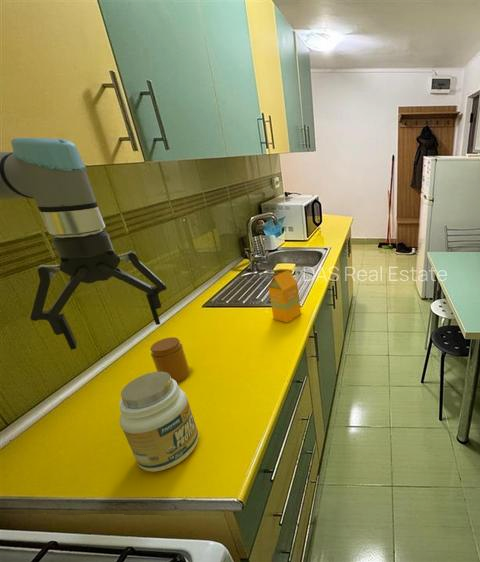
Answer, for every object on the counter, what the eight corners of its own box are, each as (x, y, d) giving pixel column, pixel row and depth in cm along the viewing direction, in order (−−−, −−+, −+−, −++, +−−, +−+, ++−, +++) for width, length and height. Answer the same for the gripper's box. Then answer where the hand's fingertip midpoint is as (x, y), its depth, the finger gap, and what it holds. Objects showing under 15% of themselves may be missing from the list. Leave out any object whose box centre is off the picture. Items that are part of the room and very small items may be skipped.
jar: (154, 384, 92) (142, 351, 87) (172, 367, 99) (161, 336, 94) (179, 385, 91) (168, 352, 87) (195, 368, 99) (186, 336, 94)
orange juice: (301, 313, 132) (296, 270, 124) (287, 322, 125) (281, 277, 117) (287, 309, 135) (281, 267, 127) (273, 318, 128) (265, 274, 120)
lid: (126, 416, 59) (122, 407, 58) (122, 392, 65) (119, 383, 64) (176, 394, 64) (174, 386, 63) (169, 374, 70) (166, 366, 69)
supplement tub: (183, 473, 66) (161, 414, 59) (125, 476, 65) (96, 417, 59) (208, 426, 77) (192, 373, 71) (159, 429, 77) (138, 375, 70)
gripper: (158, 220, 65) (182, 308, 73) (-23, 240, 49) (34, 348, 58) (164, 226, 60) (190, 319, 68) (-36, 250, 44) (29, 368, 53)
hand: (118, 333), depth 63 cm, fingers open, 13 cm apart
